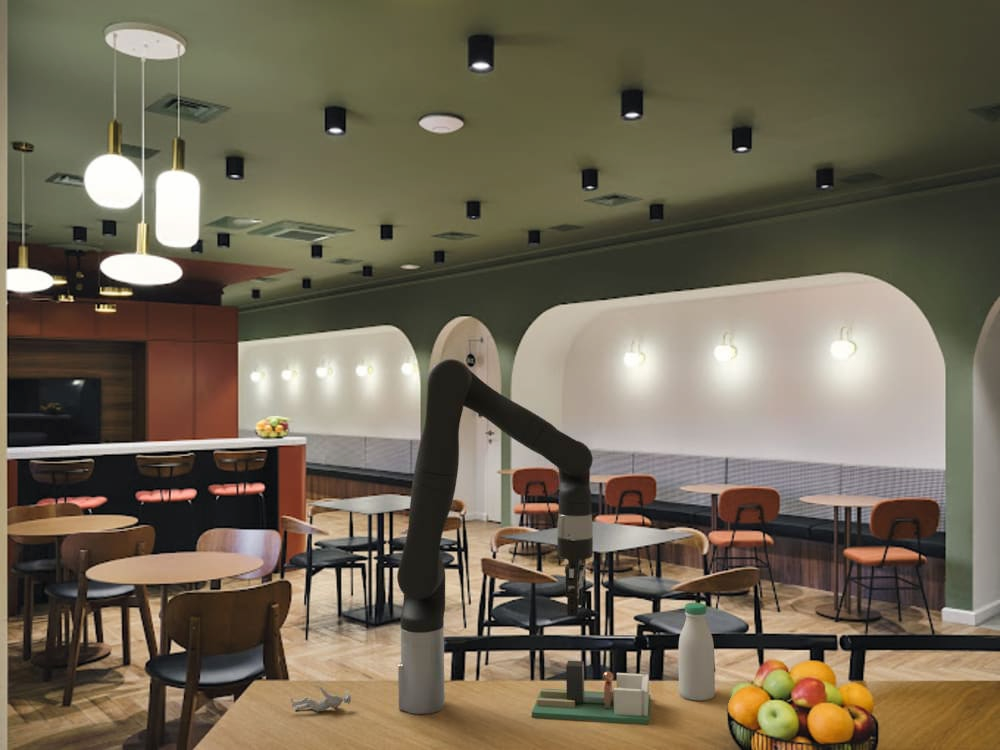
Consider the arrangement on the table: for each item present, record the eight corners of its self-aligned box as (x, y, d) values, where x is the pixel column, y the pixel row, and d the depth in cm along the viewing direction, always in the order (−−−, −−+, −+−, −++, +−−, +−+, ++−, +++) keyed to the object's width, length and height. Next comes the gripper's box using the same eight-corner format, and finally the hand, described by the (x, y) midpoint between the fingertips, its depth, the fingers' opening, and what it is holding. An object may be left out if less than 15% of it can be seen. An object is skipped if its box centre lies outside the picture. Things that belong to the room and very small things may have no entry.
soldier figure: (298, 709, 190) (351, 688, 192) (302, 729, 187) (356, 708, 189) (287, 694, 185) (342, 673, 186) (291, 715, 182) (346, 693, 183)
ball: (617, 687, 183) (631, 698, 183) (618, 681, 187) (632, 692, 186) (607, 700, 184) (621, 711, 183) (608, 694, 187) (622, 705, 187)
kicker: (566, 705, 184) (565, 667, 184) (569, 695, 190) (568, 658, 190) (612, 708, 182) (612, 670, 182) (614, 697, 188) (614, 660, 188)
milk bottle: (715, 702, 188) (714, 610, 188) (679, 700, 190) (677, 608, 190) (714, 690, 196) (712, 600, 196) (679, 688, 197) (677, 599, 197)
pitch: (531, 717, 181) (531, 706, 181) (541, 692, 195) (541, 683, 195) (648, 724, 177) (648, 713, 177) (650, 699, 191) (650, 689, 191)
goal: (614, 714, 180) (613, 689, 180) (617, 695, 190) (616, 672, 190) (647, 716, 179) (647, 691, 179) (648, 697, 189) (648, 674, 189)
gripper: (561, 528, 194) (561, 601, 194) (553, 540, 180) (553, 618, 180) (595, 529, 193) (595, 602, 193) (589, 541, 179) (589, 620, 179)
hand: (574, 610), depth 187 cm, fingers open, 8 cm apart
